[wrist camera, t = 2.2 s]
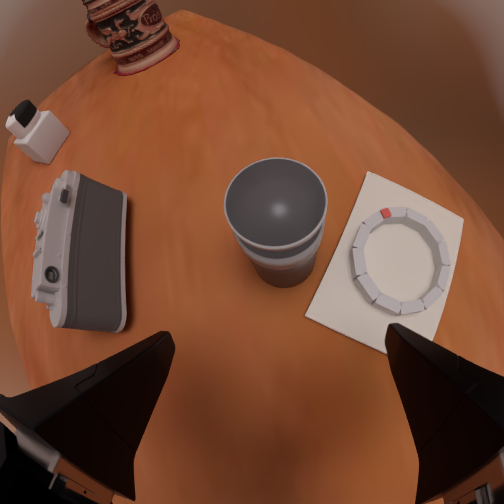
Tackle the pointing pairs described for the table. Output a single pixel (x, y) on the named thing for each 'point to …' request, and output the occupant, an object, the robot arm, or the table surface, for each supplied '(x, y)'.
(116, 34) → the beer stein
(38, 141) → the medicine bottle
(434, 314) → the board
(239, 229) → the grey round piece
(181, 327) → the table surface
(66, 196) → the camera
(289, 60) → the table surface
